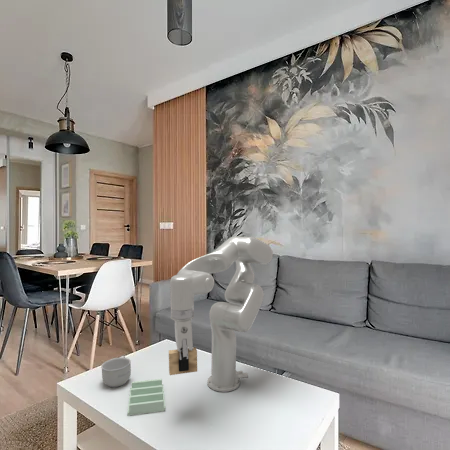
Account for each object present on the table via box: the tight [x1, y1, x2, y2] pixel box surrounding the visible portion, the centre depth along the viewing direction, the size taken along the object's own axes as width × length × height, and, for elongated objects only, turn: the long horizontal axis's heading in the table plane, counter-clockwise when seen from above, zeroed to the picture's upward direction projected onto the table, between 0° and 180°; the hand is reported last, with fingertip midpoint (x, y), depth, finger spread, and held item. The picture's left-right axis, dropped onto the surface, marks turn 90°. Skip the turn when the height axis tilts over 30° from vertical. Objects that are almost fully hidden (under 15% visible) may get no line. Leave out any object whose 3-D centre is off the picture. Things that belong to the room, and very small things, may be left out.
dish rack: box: [127, 378, 166, 417], centre depth 109 cm, size 12×16×3 cm
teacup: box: [100, 355, 132, 388], centre depth 122 cm, size 14×11×8 cm
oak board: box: [168, 346, 198, 376], centre depth 102 cm, size 9×3×7 cm, turn 104°
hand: (183, 367), depth 102 cm, fingers closed on oak board, 2 cm apart
